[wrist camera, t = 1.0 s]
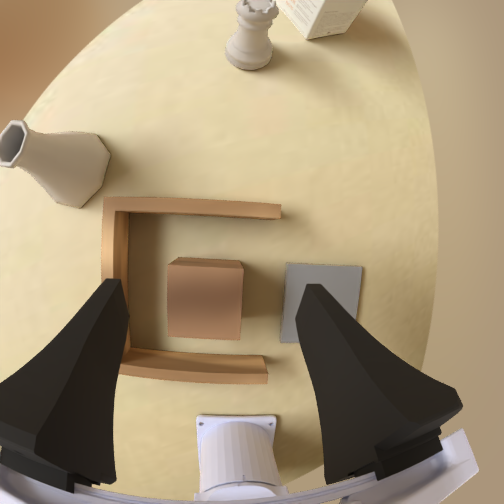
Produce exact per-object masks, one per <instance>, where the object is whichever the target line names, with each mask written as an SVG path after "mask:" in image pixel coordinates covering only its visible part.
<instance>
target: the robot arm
mask: <svg viewBox="0 0 504 504" xmlns="http://www.w3.org/2000/svg"><path fill="white" fill-rule="evenodd" d="M295 322H296V328H297V333H298V339H299V343H300V346H301V349H302V352H303V355H304V359H305V362H306V365H307V368H308V371H309V374H310V378H311V381H312V384H313V387H314V391H315V395H316V401H317V406H318V412H319V418H320V425H321V432H322V442H323V453H324V477H325V481H326V484H327V485H328V484H332V483H336V482H339V481H343V480H347V479H350V478H353V477H355V478H353V479H350V480H347V481H343V482H340V483H336V484H333V485H329V486H325V487H321V488H317V489H312V490H307V491H303V492H297V493H292V494H289V492H288V489H287V486H282V483H281V480H280V476H279V472H278V469H277V465H276V461H275V458H274V454H273V450H272V448H273V441H274V435H275V428H276V421H277V419H276V417H275V416H274V415H266V416H212V415H199V416H197V418H196V423H197V441H198V455H199V468H200V492H199V493H195V494H194V501H180V500H165V499H155V498H146V497H139V496H132V495H126V494H120V493H115V492H110V491H105V490H101V489H96V488H92V484H95V485H99V486H100V483H105V484H112V483H114V482H115V481H116V480H117V478H116V471H115V461H114V445H113V413H114V397H115V389H116V383H117V378H118V374H119V369H120V364H121V360H122V356H123V351H124V347H125V343H126V338H127V331H128V323H129V312H128V308H127V304H126V300H125V296H124V291H123V287H122V282H121V279H113V278H106V279H105V280H104V281H103V283H102V284H101V285H100V286H99V287H98V288H97V290H96V291H95V292H94V293H93V294H92V296H91V297H90V298H89V299H88V300H87V302H86V303H85V304H84V305H83V306H82V307H81V309H80V310H79V311H78V312H77V313H76V315H75V316H74V317H73V318H72V319H71V320H70V321H69V323H68V324H67V325H66V326H65V327H64V328H63V329H62V330H61V331H60V333H59V334H58V335H57V336H56V337H55V338H54V339H53V340H52V341H51V342H50V343H49V344H48V345H47V346H46V347H45V348H44V349H43V350H42V351H40V352H39V353H38V354H37V355H36V356H35V357H34V358H32V359H31V360H30V361H29V362H28V363H26V364H25V365H24V366H23V367H22V368H20V369H19V370H18V371H16V372H15V373H14V374H13V375H11V376H10V377H8V378H7V379H5V380H4V381H3V382H1V383H0V445H1V446H2V450H1V452H0V504H320V503H324V502H328V501H332V500H335V499H339V498H342V497H343V498H342V499H341V501H340V503H339V504H439V503H440V502H442V501H443V500H444V499H445V498H446V497H448V496H449V495H450V494H451V493H453V492H454V491H455V490H456V489H457V488H459V487H460V486H461V485H462V484H464V483H465V482H466V481H467V480H469V479H470V478H471V477H472V476H474V475H475V474H476V473H477V472H478V471H479V469H478V466H477V463H476V460H475V458H474V455H473V452H472V450H471V447H470V444H469V442H468V440H467V437H466V435H465V432H464V430H463V428H461V429H459V430H457V431H456V432H454V433H452V434H450V435H449V436H447V437H445V438H443V439H442V440H439V437H438V435H440V434H441V429H440V426H441V425H442V424H444V423H445V422H447V421H448V420H449V419H451V418H452V417H453V416H455V415H456V414H457V413H458V412H459V411H460V410H461V409H462V407H463V404H462V402H461V400H460V398H459V396H458V394H457V392H456V390H455V389H454V388H452V387H450V386H448V385H446V384H443V383H441V382H439V381H437V380H435V379H433V378H431V377H429V376H427V375H425V374H424V373H422V372H420V371H419V370H417V369H415V368H414V367H412V366H411V365H409V364H408V363H406V362H405V361H403V360H402V359H400V358H399V357H397V356H396V355H395V354H393V353H392V352H391V351H390V350H388V349H387V348H386V347H385V346H383V345H382V344H381V343H380V342H378V341H377V340H376V339H375V338H374V337H373V336H372V335H371V334H370V333H368V332H367V331H366V330H365V329H364V328H363V327H362V326H361V325H360V324H359V323H358V322H357V321H356V320H355V319H354V318H353V317H352V316H351V315H350V314H349V313H348V312H347V311H346V310H345V309H344V308H343V307H342V305H341V304H340V303H339V302H338V301H337V300H336V299H335V298H334V297H333V296H332V295H331V294H330V293H329V292H328V291H327V290H326V288H325V287H324V286H323V285H322V284H306V287H305V290H304V293H303V296H302V299H301V302H300V305H299V308H298V311H297V314H296V317H295ZM200 422H202V423H203V424H201V423H200ZM271 422H272V424H269V423H271Z"/></svg>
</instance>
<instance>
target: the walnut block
mask: <svg viewBox="0 0 504 504" xmlns="http://www.w3.org/2000/svg"><path fill="white" fill-rule="evenodd" d="M243 275H244V268H243V267H242V265H241V263H240V261H239V260H220V259H201V258H182V257H178V258H177V259H176V260H174V261H173V262H171V263H170V264H168V282H167V313H168V336H170V337H184V338H200V339H220V340H240V329H241V310H242V292H243Z"/></svg>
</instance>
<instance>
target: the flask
mask: <svg viewBox="0 0 504 504" xmlns="http://www.w3.org/2000/svg"><path fill="white" fill-rule="evenodd" d="M110 156H111V155H110V153H109V152H108V150H107V149H106V148H105V146H104V145H103V143H102V142H101V140H100V139H99V138H98V136H97V135H96V134H92V133H84V132H74V131H68V132H60V133H48V134H43V133H38V132H35V131H33V130H31V129H29V128H28V125H27V123H26V122H25V121H23V120H12V121H11V122H10V123H9V124H8V126H7V127H6V128H5V129H4V131H3V132H2V133H1V135H0V166H2V167H8V168H15V167H16V166H18V167H20V168H21V169H23V170H24V171H26V172H27V173H29V174H30V175H31V176H32V177H33V178H34V179H35V180H36V181H37V182H38V183H39V184H40V185H41V186H42V187H43V188H44V189H45V191H46V192H47V193H48V194H49V195H50V196H51V198H52V199H53V200H54V201H55V202H56V203H59V204H63V205H67V206H71V207H76V208H81V207H82V206H83V205H84V204H85V203H86V202H87V201H88V200H89V199H90V198H91V197H92V196H93V195H94V194H95V193H96V192H97V191H98V190H99V189H100V188H101V187H102V183H103V180H104V176H105V173H106V169H107V166H108V162H109V159H110Z"/></svg>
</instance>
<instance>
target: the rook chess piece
mask: <svg viewBox="0 0 504 504" xmlns="http://www.w3.org/2000/svg"><path fill="white" fill-rule="evenodd" d="M236 11H237V13H238V14H239V16H238V18H237V22H238V23H239V26H238V29H237V32H235V33H234V34H233V35H232V36H231V37H230V38H229V40H228V41H227V43H226V48H225V56H226V58H227V60H228V61H229V62H230V63H231V64H233V65H234V66H236V67H239V68H241V69H249V70H254V69H258V68H262V67H263V66H265V65H266V64H268V63H269V61H270V59H271V58H272V52H273V48H272V43H271V41H270V39H269V37H268V28H270V27H271V25H272V19H274V18H276V17H277V15H278V14H279V10H278V7H277V6H276V1H272V0H241V1H239V2H238V3H237V5H236Z"/></svg>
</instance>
